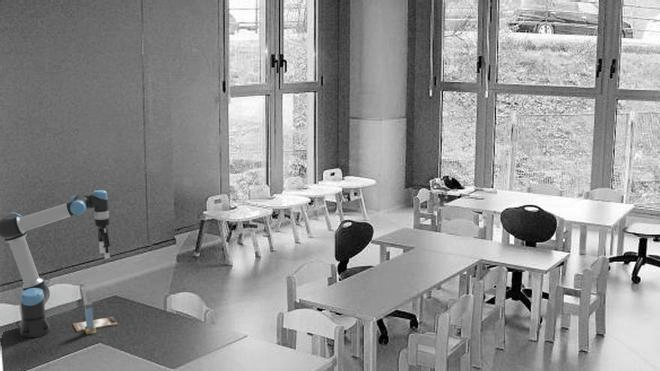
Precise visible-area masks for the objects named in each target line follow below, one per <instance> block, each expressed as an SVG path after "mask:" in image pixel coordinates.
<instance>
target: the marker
mask: <svg viewBox="0 0 660 371" xmlns="http://www.w3.org/2000/svg"><path fill="white" fill-rule="evenodd" d="M84 312H85V313H84V314H85V315H84V316H85V321H86V327H87V328H93V327H94V325H93V320H94V315H93V314H94V313H93V303H92V302H91V301H90V302H85V303H84Z"/></svg>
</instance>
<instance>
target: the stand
mask: <svg viewBox="0 0 660 371" xmlns="http://www.w3.org/2000/svg"><path fill="white" fill-rule="evenodd" d="M84 332H85V334H86V335H92V334H93V335H94V334H97V329H96V327H95V325H94V327H93V328H87V327H86V326H85V331H84Z"/></svg>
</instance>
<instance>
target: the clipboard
mask: <svg viewBox="0 0 660 371" xmlns="http://www.w3.org/2000/svg"><path fill="white" fill-rule="evenodd" d="M93 325H95V327H96V330H97V329H103V328H108V327H113V326H114V327H115V326H119V323H118V321H117V320H116V319H115V318H114V316H108V317H102V318H97V319H93ZM72 326H73V327H74V330H75V331H76V332H77V333H79V332H85V326H86V320H85V321H79V322H73V323H72Z"/></svg>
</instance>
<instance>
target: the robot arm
mask: <svg viewBox="0 0 660 371" xmlns="http://www.w3.org/2000/svg"><path fill="white" fill-rule="evenodd" d="M87 209H93V213H94V214H93V215H94V223H95V224H94V225H95V226H96V227H97V234H98V235H97V240H98V248H99V254H103V255H104V260H106V259H111V256H110V255H111V254H110V245H111V244H110V240H109V232H108V231H109V230H108V228H106V227H107V226H109V225H110V218H109V217H110V215H109V214H110V212H111V211H109V199H108V192H107V191H106V190H104V189H99V190H94V191H93V192H92V194H83V195H82V194H80V195H71V196H70V200H69V202H66V203H63V204H59V205H56V206H53V207H50V208H47V209H44V210H41V211H37V212H33V213H30V214H27V215H23V216H22V215H21V214H19V213H17V212H8V213H6V214H4V215H2V217H1V218H0V238H2V239H4V241H5V242H6V243H7V244H9V247H10V249H11V252H12V255H13V258H14V260H15V261H14V262H15V263H16V266H17V269H18V272H19V274H20V276H21V279H22V282H23V284H22V287H21V288H22V290H23V291H22V292H21V293H20V298H19V300H20V306H21V317H22V323H21V327H20V329H19V330H20V331H19V334H20V336H21V337H23V338H28V339H30V338H32V339H33V338H38V337H43V336H45V335H48V334H49V333H50V332H51V327H50V324H49V321H48V320H47V317H46V310H45V306H46V304H47V302H48V300H49V299H50V293H51V291H50V288H49V287H48V285H47V284H46V283H45V280H44V279H43V278H41V277H40V276H39V273H38V270H37V267H36V264H35V262H34V261H35V260H34V259H33V256H32V253H31V251H30V248H29V245H28V242H27V239H26V237H27V235H28V234H27V231H30V230H34V229H37V228H39V227H42V226H43V227H44V226H45V225H49V224H51V223H54V222H57V221H58V222H59V221H61V220H63V219H68V218H70V217H74V216H80V215H83V214H84V213H85V212H86V210H87Z"/></svg>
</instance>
